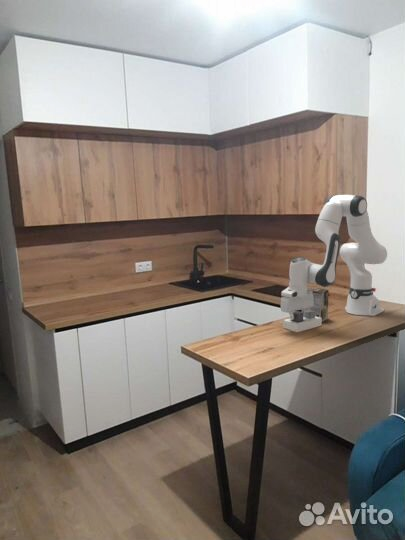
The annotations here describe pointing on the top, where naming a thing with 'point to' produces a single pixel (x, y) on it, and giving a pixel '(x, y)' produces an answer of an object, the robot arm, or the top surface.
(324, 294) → the coffee box
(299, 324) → the white slotted base
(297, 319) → the black plug
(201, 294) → the top surface
